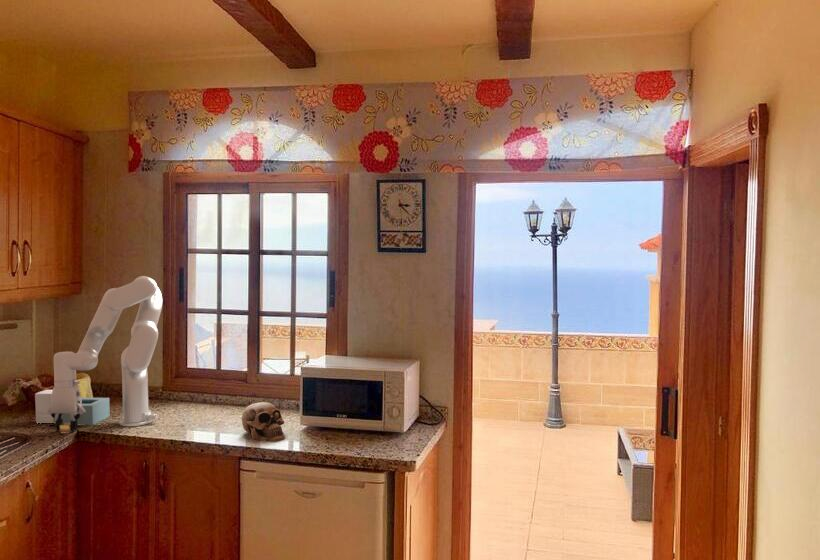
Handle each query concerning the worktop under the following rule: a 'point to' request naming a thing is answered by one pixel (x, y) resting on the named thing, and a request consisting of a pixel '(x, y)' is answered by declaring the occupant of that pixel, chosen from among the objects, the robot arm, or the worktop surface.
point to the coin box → (91, 411)
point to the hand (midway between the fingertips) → (66, 429)
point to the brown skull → (263, 422)
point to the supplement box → (43, 407)
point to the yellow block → (65, 427)
